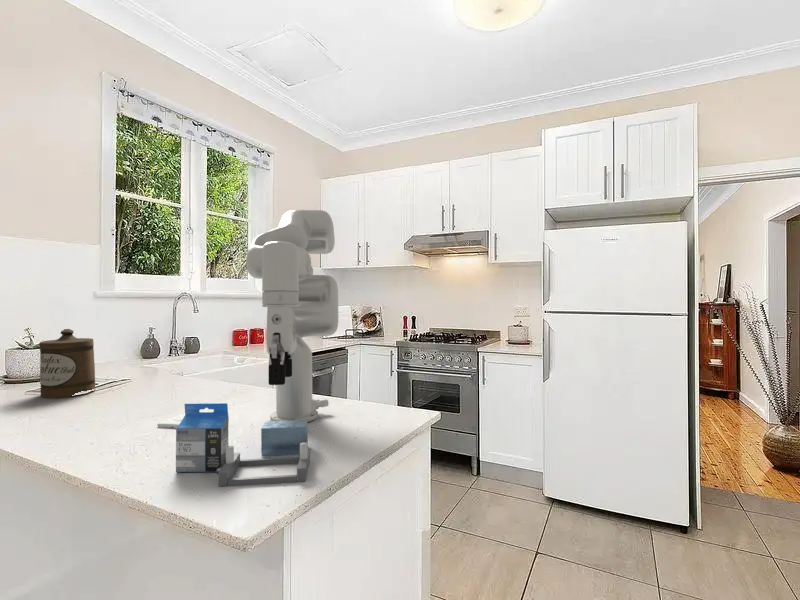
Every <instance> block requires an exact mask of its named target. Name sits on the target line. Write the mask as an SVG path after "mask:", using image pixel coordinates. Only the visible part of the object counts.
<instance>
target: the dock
mask: <svg viewBox="0 0 800 600" xmlns="http://www.w3.org/2000/svg"><path fill="white" fill-rule="evenodd" d="M234 448H235V447H234V446H233V445H228V446H227V447H226V463H225V464H224V465H223V467H222V468H221V470H220V471H219V472H217V473H218V474H217V475H218V477H217V479H218V483H217V484H218V486H217V487H227V486H228V487H229V486H231V487H233V486H234V487H235V486H250V485H251V486H252V485H267V484H270V485H271V484H283V483H299V482H300V483H301V482H303V483H304V482H307V481H306V480H307V476H308V472H309V466H310V462H311V458H310V457H311V456H310V455H311V453H310V452H311V451H310V450H311V449H309V448H308V447H307V443H300V455H299V456H287V457H286V456H285V457H284V456H281V457H266V458H263V457H262V458H246V459H245V458H244V459H243V458H242V459H241V452H235V451H234V450H235V449H234ZM287 464H292V465H293V464H297V466H296V474H282V475H267V476H250V477H247V476H246V477H234V476H235V474H236V473H237V471H238V469H239V468H238V467H246V466H245V465H253V466H269V465H287ZM239 465H240V466H239ZM236 470H237V471H236ZM235 472H236V473H235ZM233 475H234V476H233Z"/></svg>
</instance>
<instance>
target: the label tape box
mask: <svg viewBox="0 0 800 600" xmlns="http://www.w3.org/2000/svg"><path fill="white" fill-rule="evenodd" d="M228 408H229V407H228V403H226V402H225V403H222V402H220V403H184V413H185V416H184V418H183V419H182V421H181V423H180V424H179V425H178V427H177V428H175V472H176V473H204V472H206V473H207V472H208V473H210V472H217V473H219V471H220V470H221V468H222V467H223V465H224V464H225V463H226V447H227V446H229V419H230V417H229V409H228ZM205 409H208V410H212V411H214V412H199V411H202V410H205Z"/></svg>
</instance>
